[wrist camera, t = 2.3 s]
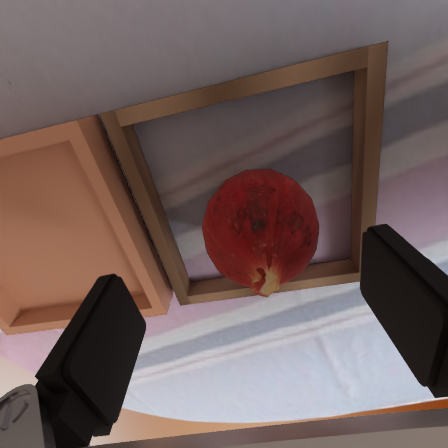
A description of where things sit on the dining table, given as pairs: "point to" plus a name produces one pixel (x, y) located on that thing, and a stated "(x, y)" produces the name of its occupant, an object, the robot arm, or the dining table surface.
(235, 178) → the onion
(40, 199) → the terracotta tray
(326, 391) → the dining table surface
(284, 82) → the walnut frame
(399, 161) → the dining table surface
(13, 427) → the robot arm
